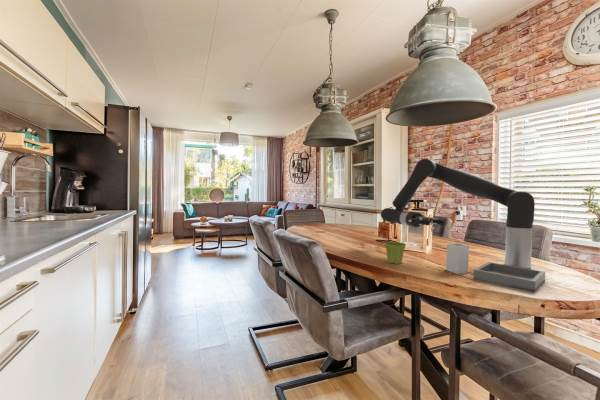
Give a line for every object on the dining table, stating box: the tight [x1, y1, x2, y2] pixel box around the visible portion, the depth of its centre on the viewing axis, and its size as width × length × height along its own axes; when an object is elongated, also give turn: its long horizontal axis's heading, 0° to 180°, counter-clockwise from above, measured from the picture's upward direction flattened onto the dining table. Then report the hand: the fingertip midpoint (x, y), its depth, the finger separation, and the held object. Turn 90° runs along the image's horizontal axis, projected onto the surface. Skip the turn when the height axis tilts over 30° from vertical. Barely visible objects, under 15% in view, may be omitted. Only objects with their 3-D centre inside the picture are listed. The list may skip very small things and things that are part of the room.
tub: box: [445, 242, 470, 275], centre depth 116 cm, size 6×6×11 cm
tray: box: [473, 261, 546, 293], centre depth 106 cm, size 18×18×4 cm
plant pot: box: [383, 241, 407, 265], centre depth 130 cm, size 9×9×9 cm
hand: (436, 222), depth 126 cm, fingers open, 8 cm apart
